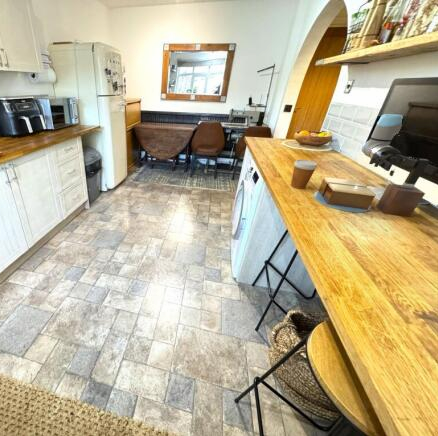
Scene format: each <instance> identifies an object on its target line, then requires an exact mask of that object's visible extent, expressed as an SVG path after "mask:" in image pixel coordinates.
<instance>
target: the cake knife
mask: <svg viewBox="0 0 438 436" xmlns="http://www.w3.org/2000/svg"><path fill="white" fill-rule="evenodd" d="M417 159H418V160H417V162H416V163H415V165H414V167H412V168H411V170H410V171H409V173H408V174H407V176H406V177H405V180H404V182H403V183H402V184H401V185H402V186H401V188H403V189H412V188H413V187H415V185H416V183H417V182H418V180H419V179H420V177H421V176H422V174H423V172H424V169H425V167H426V166H427V164H428V163H429V162H430V160H429V159H427V158H417Z"/></svg>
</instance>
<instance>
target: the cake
mask: <svg viewBox="0 0 438 436" xmlns="http://www.w3.org/2000/svg"><path fill="white" fill-rule="evenodd" d="M376 195H377V194H376V192H374V191H373V190H372V189H371V188H370V187H368V185H366V183H364V182H363V181H362V180H355V179H345V178H337V177H336V178H335V177H329V176H328V177H327V176H324V177H323V178H322V181H321V183H320V185H319V188H318V190H317V191H314V193H313V198H314V200H316V201H317V202H318V203H320V204H321V205H323V206H325V207H329V208H332V209H334V210H338V211H341V212H347V213H348V212H349V213H357V214H359V213H366V212H369V211H370V210H371V207H372V206H371V205H372V203H373V201H374V199H375V197H376Z"/></svg>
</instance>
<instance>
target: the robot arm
mask: <svg viewBox="0 0 438 436" xmlns="http://www.w3.org/2000/svg"><path fill="white" fill-rule="evenodd" d="M403 118H404V115H402V114H396V113H384V114H382V115H381V116H380V118H379V120H378V121H377V123H376V124H375V125H376V126H375V128H374V130H373V132H372V134H371V136H370V138H369V140H367V141H366V142H364V144H363V145H362V147H361V151H362V153H363V154H364V156H366V157H368V158H370V159H369V160H370V161H369V163H368V165H373V164H374V165H373V167H374V168H378V167H379V168H381V169H383V170H384V171H386V172H390V170H391V168H392V166H393V165H398V166H407V167H412V168H413V167H414V165H415V163H416V162H417V159H418V158H416V159H414V158H415V157H413V156H404V155H402V154H401V152H400V150H399V149H397V148H395V147H393V146H391V145H390V144H391V142H392V141H393V138H394V137H395V135H396V134H398V133H399V131H400V129H401V127H402V119H403ZM412 157H413V158H412ZM423 172H424V173H426V174H428V175H430V176H435V175H436V174H437V172H438V167H437V166H435V165H434V166H432V165H430V164H427V166H426V167H425V169H424V171H423Z"/></svg>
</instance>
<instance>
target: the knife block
mask: <svg viewBox="0 0 438 436" xmlns="http://www.w3.org/2000/svg"><path fill="white" fill-rule="evenodd" d="M402 185H403V184H398V183H397V184H395V183H388V185H387V186H386V188H385V189H384V191H383V193H382V194H381V197H380V198H379V200H378V202H377V204H376V207H377V208H378V209H379V210H380V211H381V212H382V213H383V214H384V215H392V216H398V217H406V218H410V217H411V216H412V214H413V213H414V211H415V210H416V208H417V207H418V205H419V204H420V202H421V201H422V199H423V198H424V196H425V195H426V192H424V191H423V190H420V189H419V188H417V187H416V186H414V187H413V188H412V189H403V188H401V186H402Z"/></svg>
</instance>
